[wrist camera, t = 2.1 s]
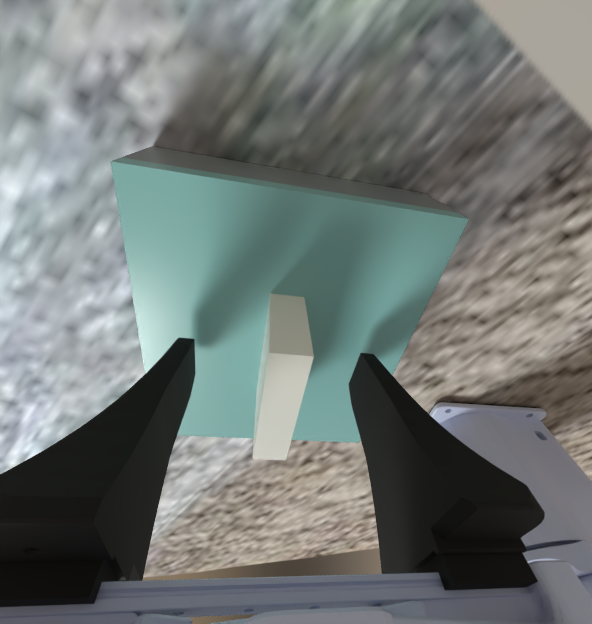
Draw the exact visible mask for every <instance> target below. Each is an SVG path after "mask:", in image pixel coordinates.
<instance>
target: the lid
mask: <svg viewBox="0 0 592 624" xmlns="http://www.w3.org/2000/svg"><path fill="white" fill-rule="evenodd" d="M111 166H112V173H113V179H114V185H115V191H116V197H117V203H118V210H119V216H120V222H121V228H122V234H123V240H124V246H125V253H126V259H127V265H128V271H129V277H130V283H131V289H132V296H133V302H134V308H135V314H136V320H137V326H138V333H139V339H140V345H141V351H142V357H143V363H144V369H145V374H146V373H147V372H148V371H149V370H150V369H151V368H152V367H153V366H154V365H155V364H156V362H157V361H158V360H159V359H160V358H161V357H162V356H163V355H164V354H165V353H166V351H167V350H168V349H169V348H170V347H171V346H172V344H173V343H174V342H175V341H176V339H178V338H191V339H195V372H196V374H195V379H194V383H193V388H192V392H191V396H190V399H189V402H188V405H187V408H186V411H185V414H184V417H183V419H182V422H181V425H180V428H179V431H178V434H177V435H183V436H208V437H234V438H254V444H253V459H263V460H286V458H287V454H288V450H289V447H290V443H291V440H309V441H334V442H360V440H361V438H360V434H359V431H358V427H357V424H356V420H355V416H354V413H353V409H352V405H351V399H350V391H349V382H350V379H351V376H352V374H353V371H354V369H355V366H356V364H357V361H358V358H359V356H360V353H368V354H374V355H375V356H376V357H377V358H378V360H379V361H380V362H381V363H382V364H383V365H384V367H385V368H386V369H387V370H388V371H389V372H390V374H391V375H393V373H394V371H395V369H396V367H397V365H398V363H399V361H400V359H401V356H402V354H403V352H404V350H405V348H406V346H407V344H408V342H409V340H410V338H411V336H412V334H413V332H414V330H415V328H416V326H417V324H418V322H419V320H420V318H421V316H422V314H423V312H424V310H425V308H426V306H427V304H428V302H429V300H430V298H431V296H432V294H433V291H434V289H435V287H436V285H437V283H438V281H439V279H440V277H441V275H442V273H443V271H444V269H445V267H446V265H447V263H448V261H449V259H450V257H451V255H452V253H453V251H454V249H455V247H456V245H457V243H458V241H459V239H460V237H461V235H462V233H463V231H464V228H465V226H466V224H467V222H468V220H469V219H468V218H466V217H464V216H463V215H461V214H459V213H457V212H451V211H445V210H439V209H433V208H427V207H420V206H414V205H408V204H402V203H396V202H390V201H384V200H378V199H372V198H366V197H360V196H353V195H347V194H341V193H335V192H329V191H323V190H317V189H311V188H305V187H299V186H293V185H286V184H280V183H274V182H268V181H262V180H256V179H250V178H244V177H238V176H232V175H225V174H219V173H213V172H207V171H201V170H195V169H189V168H183V167H177V166H171V165H165V164H158V163H152V162H146V161H140V160H134V159H128V158H119V159H116V160H113V161H111Z"/></svg>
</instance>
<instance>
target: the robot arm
mask: <svg viewBox="0 0 592 624" xmlns="http://www.w3.org/2000/svg"><path fill="white" fill-rule="evenodd" d="M195 374H196V372H195V339H191V338H178V339H176V341H175V342H174V343H173V344H172V346H171V347H170V348H169V349H168V350H167V351H166V353H165V354H164V355H163V356H162V357H161V358H160V359H159V360H158V361H157V362H156V364H155V365H154V366H153V367H152V368H151V369H150V370H149V371H148V372H147V373H146V374H145V375H144V376H143V377H142V378H141V379H140V380H139V381H137V382H136V383H135V384H134V385H133V386H132V387H131V388H130V389H129V390H128V391H127V392H126V393H124V394H123V395H122V396H121V397H120V398H119V399H117V400H116V401H115V402H114V403H112V404H111V405H110V406H109V407H107V408H106V409H105V410H104V411H102V412H101V413H99V414H98V415H97V416H95V417H94V418H93V419H91V420H90V421H89V422H87V423H86V424H84V425H83V426H81V427H80V428H79V429H77V430H76V431H74V432H72V433H71V434H69V435H68V436H66V437H65V438H63V439H61V440H60V441H58V442H57V443H55V444H54V445H52V446H50V447H49V448H47V449H46V450H44V451H42V452H41V453H39V454H37V455H35V456H33V457H32V458H30V459H28V460H26V461H24V462H23V463H21V464H19V465H17V466H15V467H13V468H12V469H10V470H8V471H6V472H4V473H2V474H0V624H192V621H191V619H190V618H186V617H200V616H222V615H242V614H258V615H255V616H252V617H251V618H248V619H240V620H232V621H225V622H217V623H210V624H592V481H591V480H590V479H589V478H588V476H587V475H586V474H585V473H584V472H583V471H582V469H581V468H580V467H579V466H578V465H577V463H576V462H575V461H574V460H573V459H572V457H571V456H570V455H569V454H568V453H567V451H566V450H565V449H564V448H563V447H562V446H561V444H560V443H559V442H558V441H557V440H556V438H555V437H554V436H553V435H552V434H551V432H550V431H549V430H548V429H547V428H546V426H545V425H544V424H543V423H542V422H541V421H542V420H543V419H544V418H545V417H546V415H547V413H546V412H545V411H544V410H543V409H540V408H524V407H508V406H492V405H477V404H461V403H445V402H441V403H438V404H436V405H435V406H434V408H433V409H432V411H431V412H430V414H428V413H427V412H426V411H425V410H424V409H423V408H422V407H421V406H420V405H419V404H418V403H417V402H416V401H415V400H414V399H413V398H412V397H411V396H410V395H409V394H408V393H407V392H406V391H405V389H404V388H403V387H402V386H401V385H400V384H399V383H398V382H397V381H396V379H395V378H394V377H393V376H392V375H391V374H390V372H389V371H388V370H387V369H386V368H385V367H384V365H383V364H382V363H381V362H380V361H379V360H378V358H377V357H376V356H375V355H374V354H368V353H360V356H359V358H358V361H357V364H356V366H355V369H354V371H353V374H352V376H351V379H350V382H349V391H350V399H351V405H352V409H353V413H354V416H355V420H356V424H357V427H358V431H359V434H360V438H361V441H362V445H363V448H364V452H365V456H366V460H367V465H368V471H369V476H370V482H371V488H372V495H373V501H374V508H375V515H376V523H377V531H378V539H379V549H380V559H381V568H382V569H381V570H382V574H366V575H332V576H331V575H330V576H329V575H328V576H293V577H259V578H223V579H222V578H221V579H189V580H187V579H185V580H150V581H142V579H143V574H144V569H145V564H146V560H147V555H148V550H149V545H150V540H151V536H152V531H153V527H154V522H155V518H156V513H157V508H158V504H159V500H160V496H161V491H162V487H163V483H164V479H165V475H166V471H167V467H168V462H169V458H170V455H171V452H172V448H173V445H174V442H175V439H176V437H177V434H178V431H179V428H180V425H181V422H182V419H183V417H184V414H185V411H186V408H187V405H188V402H189V399H190V396H191V392H192V388H193V383H194V379H195Z"/></svg>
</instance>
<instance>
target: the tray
mask: <svg viewBox="0 0 592 624" xmlns="http://www.w3.org/2000/svg"><path fill="white" fill-rule="evenodd" d="M122 158H128V159H134V160H140V161H146V162H152V163H158V164H165V165H171V166H177V167H183V168H189V169H195V170H201V171H207V172H213V173H219V174H225V175H232V176H238V177H244V178H250V179H256V180H262V181H268V182H274V183H280V184H286V185H293V186H299V187H305V188H311V189H317V190H323V191H329V192H335V193H341V194H347V195H353V196H360V197H366V198H372V199H378V200H384V201H390V202H396V203H402V204H408V205H414V206H420V207H427V208H433V209H439V210H445V211H451V212H456V211H454V210H453V209H451V208H449V207H448V206H446V205H444V204H443V203H441V202H439V201H438V200H436V199H434V198H432V197H431V196H429V195H427V194H426V193H421V192H415V191H410V190H404V189H398V188H392V187H386V186H381V185H375V184H369V183H363V182H357V181H351V180H346V179H340V178H334V177H328V176H322V175H316V174H311V173H305V172H299V171H293V170H287V169H281V168H276V167H270V166H264V165H258V164H252V163H246V162H241V161H235V160H229V159H223V158H217V157H211V156H206V155H200V154H194V153H188V152H182V151H176V150H171V149H165V148H159V147H153V146H152V147H149V148H146V149H144V150H141V151H138V152H135V153H133V154H130V155H127V156H124V157H122ZM457 213H458V212H457Z"/></svg>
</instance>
